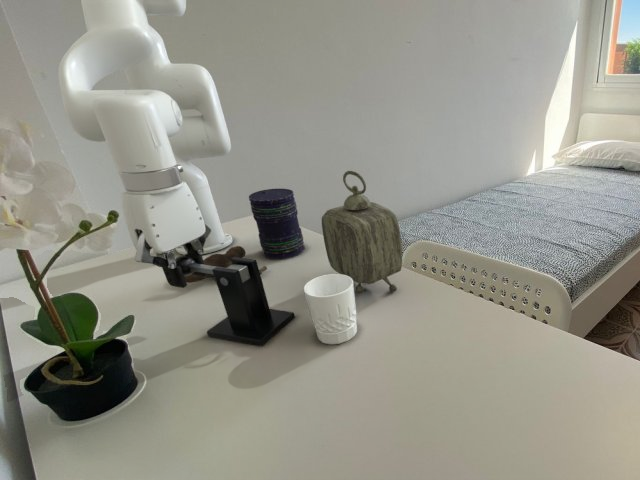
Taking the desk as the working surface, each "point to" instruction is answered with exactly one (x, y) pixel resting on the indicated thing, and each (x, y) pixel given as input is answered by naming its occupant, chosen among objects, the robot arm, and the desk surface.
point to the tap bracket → (246, 307)
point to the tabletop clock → (362, 239)
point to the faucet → (220, 263)
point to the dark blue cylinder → (277, 223)
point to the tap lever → (207, 267)
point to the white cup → (332, 307)
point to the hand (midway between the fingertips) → (189, 279)
